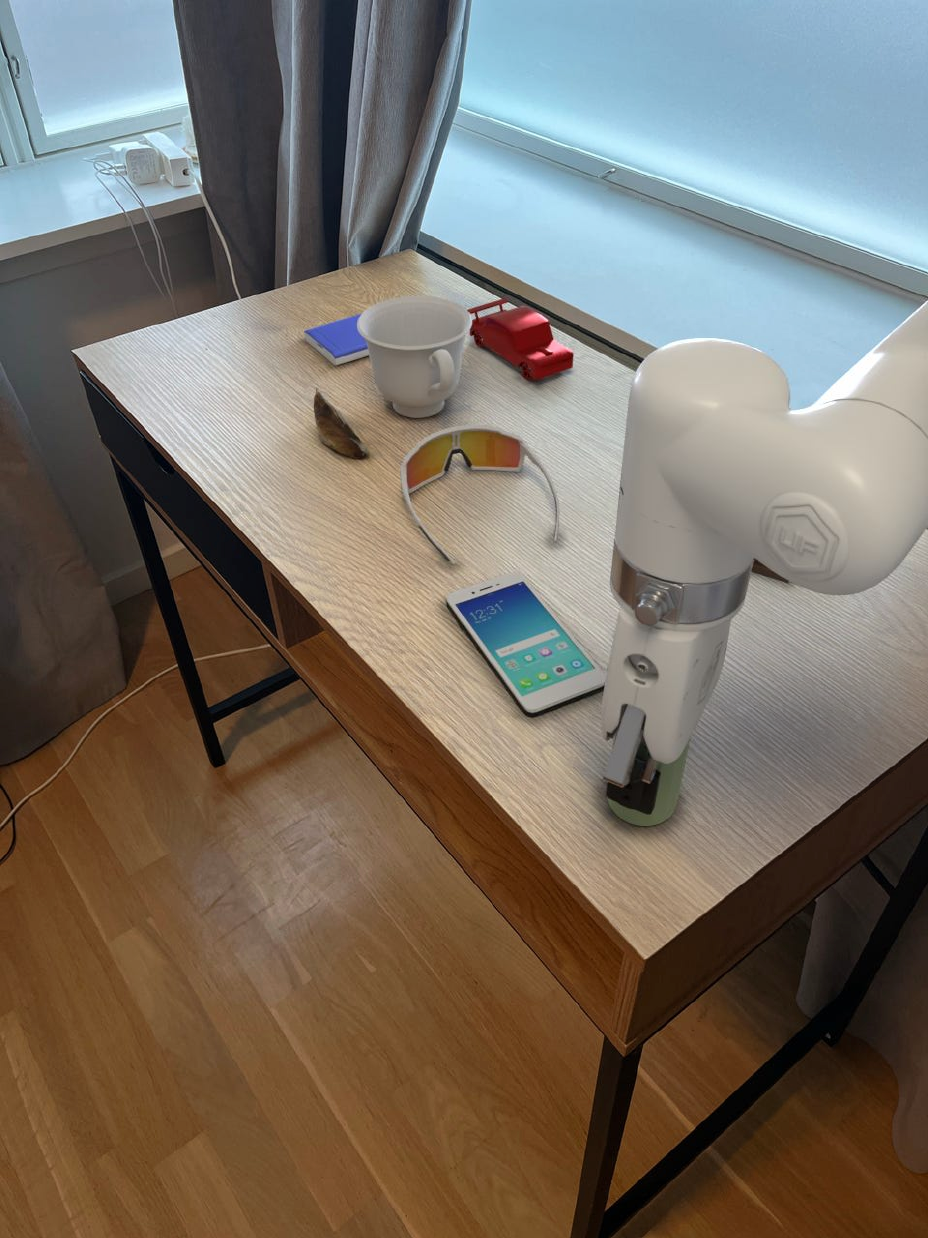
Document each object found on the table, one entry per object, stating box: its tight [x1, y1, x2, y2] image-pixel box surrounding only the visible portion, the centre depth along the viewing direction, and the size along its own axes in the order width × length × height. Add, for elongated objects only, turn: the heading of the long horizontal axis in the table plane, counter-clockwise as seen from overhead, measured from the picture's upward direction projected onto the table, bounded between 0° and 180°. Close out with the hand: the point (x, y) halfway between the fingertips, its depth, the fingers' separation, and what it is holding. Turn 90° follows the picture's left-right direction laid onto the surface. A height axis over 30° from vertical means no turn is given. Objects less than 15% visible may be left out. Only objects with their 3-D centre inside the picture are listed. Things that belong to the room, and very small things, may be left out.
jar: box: [606, 734, 692, 827], centre depth 65 cm, size 5×5×8 cm
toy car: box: [466, 297, 575, 381], centre depth 113 cm, size 14×6×5 cm, turn 34°
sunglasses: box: [399, 424, 560, 565], centre depth 92 cm, size 14×15×5 cm
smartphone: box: [445, 571, 607, 718], centre depth 79 cm, size 8×1×15 cm
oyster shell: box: [313, 387, 370, 459], centre depth 101 cm, size 6×4×10 cm
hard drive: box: [303, 313, 369, 366], centre depth 118 cm, size 2×8×12 cm
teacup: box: [357, 295, 473, 419], centre depth 103 cm, size 12×15×10 cm
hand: (645, 772), depth 65 cm, fingers closed on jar, 4 cm apart
